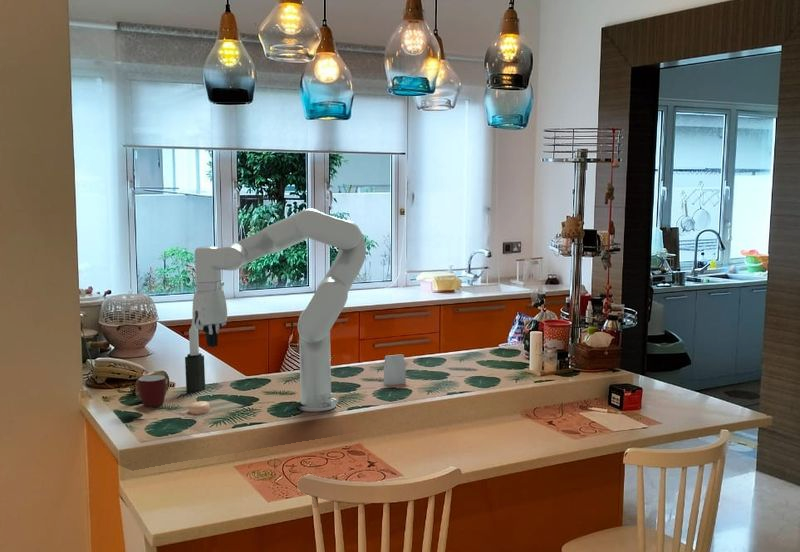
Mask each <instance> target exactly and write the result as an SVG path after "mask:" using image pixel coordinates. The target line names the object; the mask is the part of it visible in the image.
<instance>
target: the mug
mask: <svg viewBox="0 0 800 552" xmlns="http://www.w3.org/2000/svg"><path fill="white" fill-rule="evenodd" d="M140 377H141V376H140ZM138 378H139V377H138ZM139 390H140V394H141V399H142V401H141V403H142V405H143V406H144V407H146V408H157V407H158V408H159V407H162V406H163V404H164V401H165V396H166V394H165V390H166V377H165V376H161V375H151V376H145V377H141V378H139Z"/></svg>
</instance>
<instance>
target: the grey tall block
mask: <svg viewBox="0 0 800 552" xmlns="http://www.w3.org/2000/svg"><path fill="white" fill-rule="evenodd" d="M405 362H406V361H405V354H404V353H403V354H393V355H391V354H390V355H385V356H384V364H383V384H385V386H393V385H394V386H395V385H404V384H407V381H406V380H407V379H406V377H407V375H406V373H407V372H406V370H407V369H406V363H405Z"/></svg>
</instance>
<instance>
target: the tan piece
mask: <svg viewBox="0 0 800 552" xmlns="http://www.w3.org/2000/svg"><path fill="white" fill-rule="evenodd" d="M207 402H209V407H210V411H209V412H206V413H202V414H196V415H193V416H191V415H190V414H189V415H188V414H185V413H183V412H182V411H186V410H189V405H188V406H184V407H180V408H176V409H173V410H170V412H171V413H174V414H177V415H180V416H184V417H187V418H190V419H193V420H196V419H200V418H205V417H207V416H211V415H216V414H219V413H222V412H226V411H230V410H233V409H234V410H235V409H239V408H242V407H245V404H244V405H243V404H240V403H235V402H233V401H228V400H226V399H223V398H217V399H216V398H215V399H212V400H209V401H207ZM211 410H212V411H211Z"/></svg>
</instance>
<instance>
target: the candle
mask: <svg viewBox="0 0 800 552" xmlns="http://www.w3.org/2000/svg"><path fill="white" fill-rule="evenodd" d="M188 335H189V336H188V339H189V341H188V342H189V343H188V344H189V353H187V356H185V357H184V365H185V368H184V369H185V391H186V395H187V394H193V393H199V392H202V391H205V390H206V371H205V355H203V354H202V353H200V352H199V351H200V348H199V347H200V346H199V342H200V341H199V330H198V329H196V324H194V323H193V319H192V320H191V326H190V328H189V330H188Z"/></svg>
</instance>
